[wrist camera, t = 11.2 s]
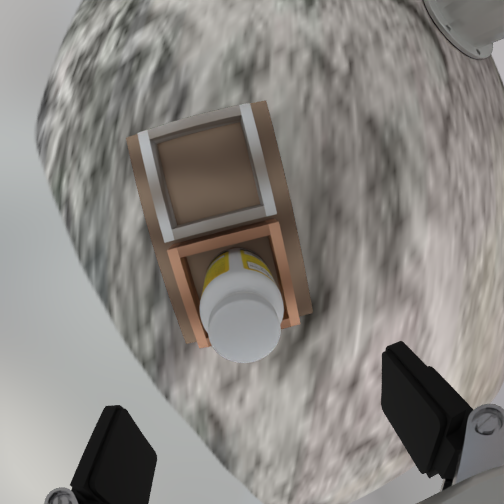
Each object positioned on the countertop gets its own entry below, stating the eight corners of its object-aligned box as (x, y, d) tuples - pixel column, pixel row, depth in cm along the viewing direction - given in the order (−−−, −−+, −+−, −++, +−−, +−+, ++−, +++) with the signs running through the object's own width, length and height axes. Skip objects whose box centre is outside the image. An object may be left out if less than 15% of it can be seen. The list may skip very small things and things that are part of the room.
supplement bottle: (208, 309, 26) (200, 375, 16) (202, 249, 24) (187, 289, 15) (270, 305, 26) (293, 368, 16) (268, 244, 25) (293, 281, 15)
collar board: (130, 140, 23) (115, 133, 19) (264, 104, 23) (270, 91, 20) (187, 337, 27) (183, 358, 24) (309, 307, 28) (320, 324, 24)
